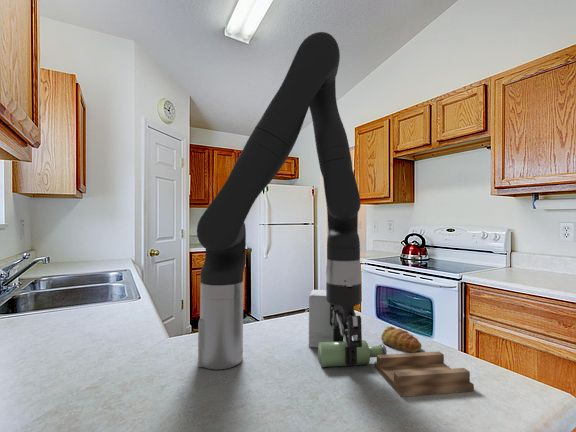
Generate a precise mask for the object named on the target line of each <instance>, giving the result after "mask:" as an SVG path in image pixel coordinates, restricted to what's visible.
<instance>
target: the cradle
mask: <svg viewBox="0 0 576 432" xmlns="http://www.w3.org/2000/svg"><path fill="white" fill-rule="evenodd" d="M374 369H375V370H376V371H377V372H378V373H379V374H380V375H381V376H382V377H383V379H384V380H385V381H386V382H387V383H388V384H389V385H390V386H391V388H392V389H394V391H395V392H396V393H397V394H398V395H399V396H400V397H402V398H403V397H415V396H429V395H440V394H441V395H442V394H454V393H467V392H474V391H475V384H474V383H472V382H471V379H470V377H471V375H470V374H471V371H469V370H468V369H467V368H465V367H458V368H456V367H455V368H452V367H450V366H449V365H447V364H445V356H444V353H442V352H441V351H424V352H423V351H422V352H406V353H405V352H404V353H390V354H388V353H387V354H386V355H377V357H376V361H374Z"/></svg>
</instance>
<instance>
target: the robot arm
mask: <svg viewBox="0 0 576 432" xmlns="http://www.w3.org/2000/svg"><path fill="white" fill-rule="evenodd" d="M340 56H341V53H340V46H339V44H338V42H337V40H336V39H335V37H334V36H333V35H332V34H330V33H328V32H325V31H318V32H314V33H311V34H310V35H308V36H307V37H306V38H304V39H303V40H302V41H301V43H300V44H299V46H298V47H297V50H296V52H295V54H294V56H293V58H292V61H291V64H290V66H289V68H288V70H287V72H286V75H285V77H284V79H283V81H282V83H281V84H280V87H279V89H278V90H277V92H276V93H275V95H274V96H273V97H272V99H271V101H270V102H269V104H268V106H267V108H266V109H265V111H264V112H263V113H262V116H261V117H260V119H259V120H258V123H257V124H256V126H255V127H254V129H253V130H252V132H251V134H250V136H248V139H247V140H246V143H245V144H244V147H243V148H242V151H241V153H240V154H239V156H238V158H237V160H236V162H235V163H234V165H233V167H232V168H231V171H230V173H229V175H228V177H227V179H226V180H225V181H224V182H225V183H224V184H223V185H222V187H221V188H220V190H219V192H217V194H216V196H215V197H214V198H213V200H212V201H211V202H210V204H209V206H208V207H207V208H206V209H205V211H204V212H203V213H202V215H201V216H200V218H199V220H198V222H197V227H196V235H197V236H196V237H197V240H198V241H199V244H200V245H201V246H202V247H203V248H204V249H205V255H204V256H205V257H204V262H203V265H202V268H201V269H200V293H199V294H200V301H199V303H200V305H199V306H200V308H199V317H200V318H199V320H198V322H197V323H198V326H197V328H198V329H197V330H198V332H197V333H198V334H197V337H198V338H197V345H198V346H197V367H198V368H206V369H209V370H225V369H230V368H233V367H236V366H238V365H239V364H240V363H241V362H242V361H243V358H244V357H243V356H244V354H243V353H244V347H243V346H244V274H245V273H244V272H245V268H246V267H245V266H246V247H247V246H246V245H247V243H246V242H247V238H246V237H247V231H246V230H247V229H246V224H245V221H246V219H247V217H248V215H249V213H250V211H251V209H252V206H253V205H254V203H255V201H256V200H257V198H258V197H259V196H260V194H261V193H262V192H263V191H264V190H265V189H266V187H267V186H268V185H269V184H270V183H271V182H272V180H273V179H274V178H275V177H276V176H277V174H278V173H279V171H280V170H281V169H282V167H283V165H284V164H285V162H286V161H287V159H288V158H289V155H290V153H291V152H292V150H293V148H294V147H295V144H296V141H297V140H298V137H299V135H300V134H301V133H300V132H301V131H302V130H301V129H302V127H303V125H304V121H305V119H306V115H307V114H308V110H309V111H310V114H311V120H312V126H313V131H314V132H313V133H314V142H315V149H316V152H317V153H316V155H317V158H318V164H319V169H320V174H321V177H322V179H323V188H324V195H325V202H326V208H327V209H326V211H327V212H326V213H327V216H326V217H327V230H328V231H327V232H328V234H327V235H328V236H327V240H326V241H327V243H326V244H327V245H326V257H327V259H326V269H325V276H326V279H325V280H326V281H325V283H326V284H325V285H326V289H325V290H326V300H327V302H328V303H330V325H331V326H332V331H333V342H338V341H345V363H346V365H347V367H352V366H358V365H357V347H362V340H363V338H362V337H363V334H362V331H363V330H362V317H361V315H356V312H355V306H358V305H360V304H361V303H362V301H363V299H362V298H363V296H362V287H363V286H362V265H361V241H360V237H359V236H360V235H359V234H358V227H359V225H358V224H359V221H358V218H359V216H358V215H359V211H360V208H361V197H360V192H359V188H358V184H357V181H356V177H355V174H354V171H353V161H352V156H351V150H350V145H349V140H348V136H347V132H346V129H345V126H344V124H343V121H342V118H341V116H340V113H339V108H338V102H337V96H336V95H337V91H336V88H337V87H336V77H337V74H338V70H339V66H340V58H341V57H340Z"/></svg>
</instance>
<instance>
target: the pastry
mask: <svg viewBox="0 0 576 432" xmlns="http://www.w3.org/2000/svg"><path fill="white" fill-rule="evenodd" d="M380 337H381V339H380V340H382V342H383V344H384V345H388V346H389V347H390V348H393V349H396V350H400V351H402V352H406V353H418V352H419V351H420V350H421V348H422V343H421V342H420V341H419V340H418V338H417V337H415V336H414V335H413V334H411V333H409V332H408V331H407V330H403V329H401V328H396V327H394V326H388V327H386V328H385V329H384V330H383V331H382V335H381V336H380Z"/></svg>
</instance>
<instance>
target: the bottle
mask: <svg viewBox="0 0 576 432" xmlns="http://www.w3.org/2000/svg"><path fill="white" fill-rule="evenodd" d="M387 352H388V351H387V348H386V346H385V344H379V345H372V346H369V344H368V342H367V340H365V339H362V347H357V365H356V366H361V365H362V366H365V365H369V364H370V362H371V358H377V355H386V354H388V353H387ZM317 356H318V362H319V365H320V367H321V368H328V367H329V368H331V367H332V368H333V367H346V366H347V365H346V363H345V341H338V342H319V344H318V347H317ZM347 367H348V366H347Z"/></svg>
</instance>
